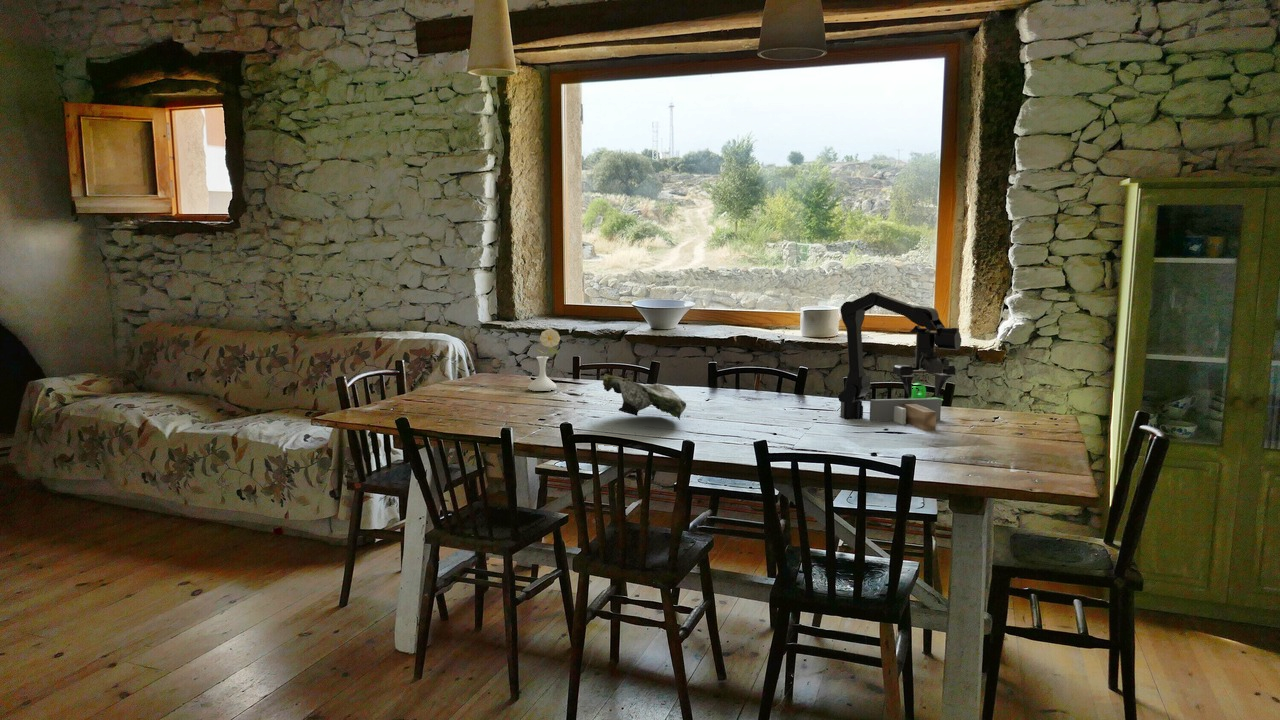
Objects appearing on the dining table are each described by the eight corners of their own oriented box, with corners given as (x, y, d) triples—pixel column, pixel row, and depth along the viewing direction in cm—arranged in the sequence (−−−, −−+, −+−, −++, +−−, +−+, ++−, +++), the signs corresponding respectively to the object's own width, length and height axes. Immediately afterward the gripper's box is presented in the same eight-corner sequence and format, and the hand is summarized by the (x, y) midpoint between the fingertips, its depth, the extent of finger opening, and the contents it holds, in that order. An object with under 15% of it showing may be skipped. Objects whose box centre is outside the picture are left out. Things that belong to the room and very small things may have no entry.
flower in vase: (524, 393, 339) (524, 329, 336) (532, 389, 350) (532, 327, 348) (556, 394, 337) (556, 330, 334) (564, 390, 348) (564, 328, 346)
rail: (923, 431, 270) (924, 412, 270) (902, 421, 286) (903, 403, 285) (935, 430, 271) (936, 411, 270) (914, 421, 287) (915, 403, 286)
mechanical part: (921, 407, 315) (922, 385, 314) (909, 404, 320) (910, 383, 320) (946, 405, 320) (947, 383, 319) (934, 402, 326) (935, 381, 325)
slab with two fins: (879, 424, 279) (880, 403, 278) (869, 420, 287) (870, 399, 286) (949, 423, 283) (950, 402, 282) (937, 418, 290) (938, 398, 290)
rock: (581, 394, 277) (597, 351, 280) (613, 419, 303) (626, 379, 307) (665, 415, 265) (679, 370, 269) (690, 439, 292) (703, 398, 296)
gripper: (909, 350, 264) (907, 401, 266) (966, 350, 267) (964, 400, 269) (893, 347, 275) (891, 396, 277) (948, 346, 278) (945, 394, 280)
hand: (923, 396), depth 275 cm, fingers open, 9 cm apart
